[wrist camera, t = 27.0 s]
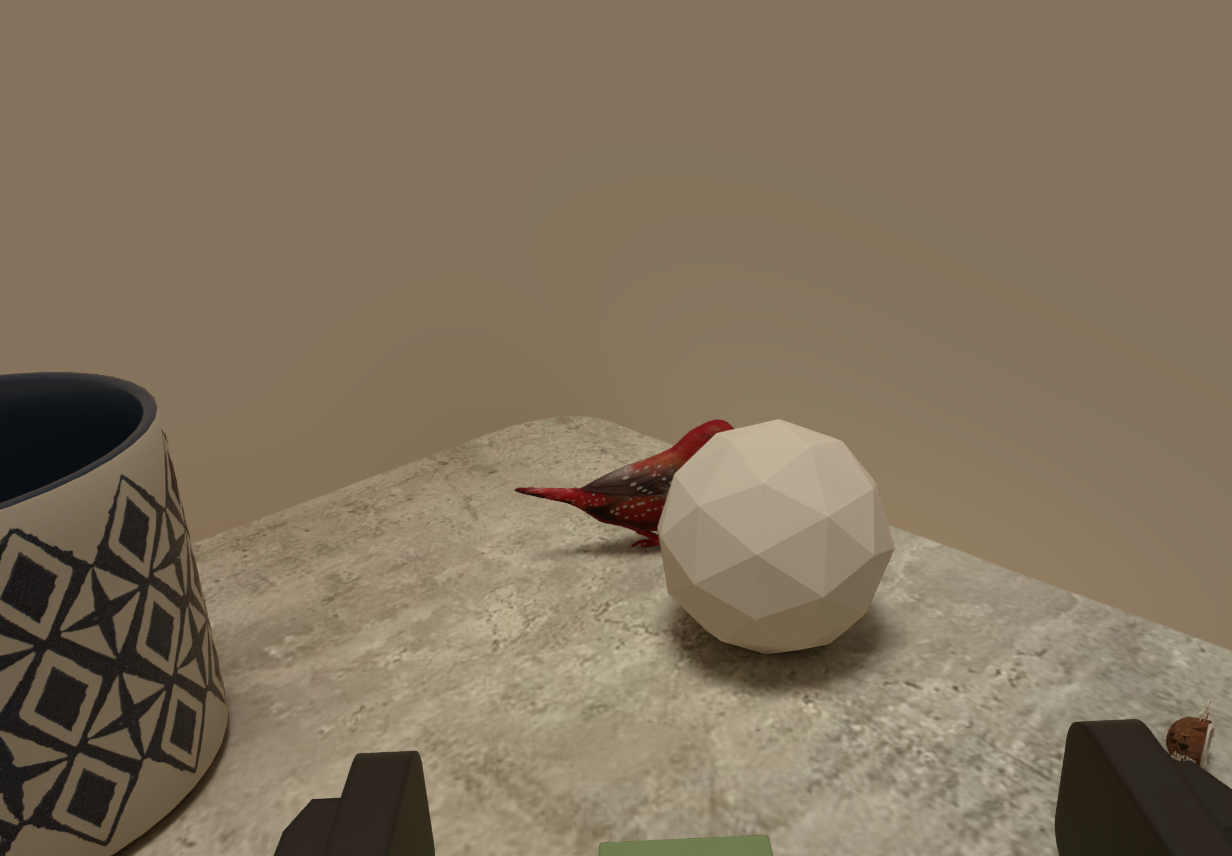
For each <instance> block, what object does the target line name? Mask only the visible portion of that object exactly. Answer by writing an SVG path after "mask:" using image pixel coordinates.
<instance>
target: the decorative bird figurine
mask: <svg viewBox="0 0 1232 856" xmlns="http://www.w3.org/2000/svg"><path fill="white" fill-rule="evenodd" d="M733 429H734V428H733V427H732V426H731V425H730V424H729V423H728V422H726V421H724V420H712V421H709V422H707V423H704V424H702V425H700V426H698V427H696V428H694V429H693V430H691V431H690V432H688V433H687V434H686V435H685V436H684V437H683V438H682V439H681V440H680V441H679V442H678V443H677V444H676V445H674V446H673V447H672V448H670V449H668V450H666V451H664V452H662V453H659V454H657V455H655V456H652V457H650V458H647V459H644V460H641V461H638V462H635V463H632V464H629V465H627V466H624V467H622V468H620V469H617V470H615V471H612V472H610V473H608V474H606V475H604V476H602V477H600V478H598V479H597V480H594V481H593V482H591V483H589V484H588V485H586V486H584V487H582V488H568V489H565V488H533V487H529V488H517V489H515V491H516V492H519V493H522V494H526V495H531V496H536V497H540V498H546V499H549V500H554V501H560V502H564V503H568V504H571V505H573V506H576V507H578V508H580V509H581V510H583V511H585V512H586V513H588V514H589V515H591V516H592V517H594V518H595V519H597V520H598V521H600V522H603V523H607V524H612V525H618V526H622V527H625V528H628V529H631V530H633V531H635V532H636V533H638V534H640V535H643V536H646V537H648V538H650V539H643V540H639V541H637V542H636V543H634V544H633V545H632V546H631V547H634V546H636V545H638V544H640V543H641V547H642V548H643V547H650V546H657V545H660V540H659V535H657V534H655V533H652V532H650V531H658V528H657V527H658V524H659V521H660V518H661V514H662V511H663V508H664V505H665V502H666V499H667V496H668V492H669V489H670V486H671V483H672V480H673V477H674V474H675V473H676V472H677V471H678V470H679V469H680V468H681V467H682V466H683V465H684V464H685V463H686V462H687V461H688V460H689V459H690V458H691V457H692V456H694V455H695V454H696V453H697V452H698V451H699V450H700V449H701V448H702V447H703V446H704V445H705V444H706V443H707V442H708V441H709V440H710V439H711V438H712V437H713V436H714V435H715V434H716V433H719V432H724V431H728V430H733ZM642 543H647V544H644V545H643V544H642Z"/></svg>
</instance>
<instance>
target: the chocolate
mask: <svg viewBox="0 0 1232 856" xmlns="http://www.w3.org/2000/svg"><path fill="white" fill-rule="evenodd" d="M1211 700H1212V699H1209V702H1208V704H1206V706H1205V708H1204V709H1203V711H1201V712H1200V715H1199V718H1194V717H1186V718H1182V719H1180V720H1178V721H1176V722H1175V723H1174V724H1173V725H1172V726H1171V727H1170V728H1169V729H1168V731H1167V733H1166V735H1165V739H1164V741H1165V740H1166V745H1167V748H1168V751H1169V753H1170V754H1171V758H1172V757H1173V758H1174V759H1175V760H1176V761H1189V760H1191V761H1193V762H1194V763H1196V764H1197V765H1198V766H1200V767H1201V768H1203V769H1205V767H1206V760H1207V756H1208V751H1209V748H1210V744H1211V739H1212V737H1213V736H1214V730H1215V726H1214V725H1213V724H1212V722H1211V721H1209V720H1206V719H1207V718H1208V714H1209V711H1208V709H1209V706H1208V705H1210V703H1211ZM1207 711H1208V714H1207V716H1206V718H1205V719H1202V717H1204V715H1205V714H1206V712H1207Z"/></svg>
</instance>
